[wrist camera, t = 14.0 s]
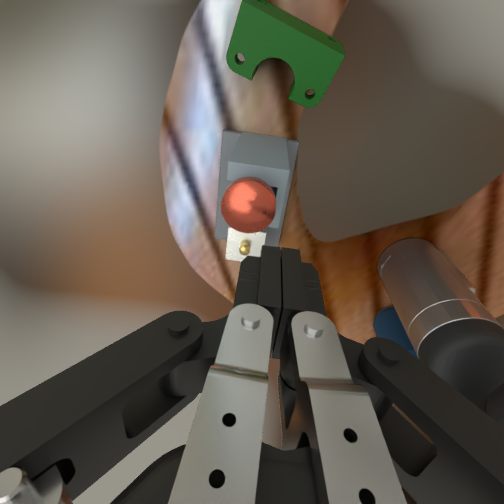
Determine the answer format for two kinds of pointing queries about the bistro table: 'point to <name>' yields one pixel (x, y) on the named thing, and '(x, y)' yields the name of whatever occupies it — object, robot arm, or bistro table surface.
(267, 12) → the clamp
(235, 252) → the block
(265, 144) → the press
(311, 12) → the bistro table surface
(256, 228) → the disc
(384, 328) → the soda can
